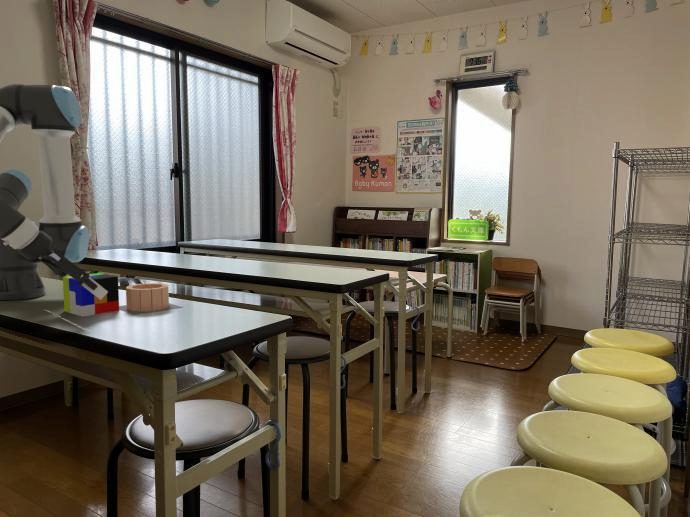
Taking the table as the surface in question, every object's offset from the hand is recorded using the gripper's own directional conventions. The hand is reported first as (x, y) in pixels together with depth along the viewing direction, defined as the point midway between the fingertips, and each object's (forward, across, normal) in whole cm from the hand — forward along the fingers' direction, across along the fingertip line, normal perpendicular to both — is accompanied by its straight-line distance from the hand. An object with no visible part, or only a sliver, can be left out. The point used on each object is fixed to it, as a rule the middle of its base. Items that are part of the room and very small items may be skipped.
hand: (94, 292), depth 138 cm
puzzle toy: (+4, 0, -5) cm, 6 cm away
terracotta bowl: (+12, +5, +5) cm, 14 cm away
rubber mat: (+13, +5, +5) cm, 15 cm away
